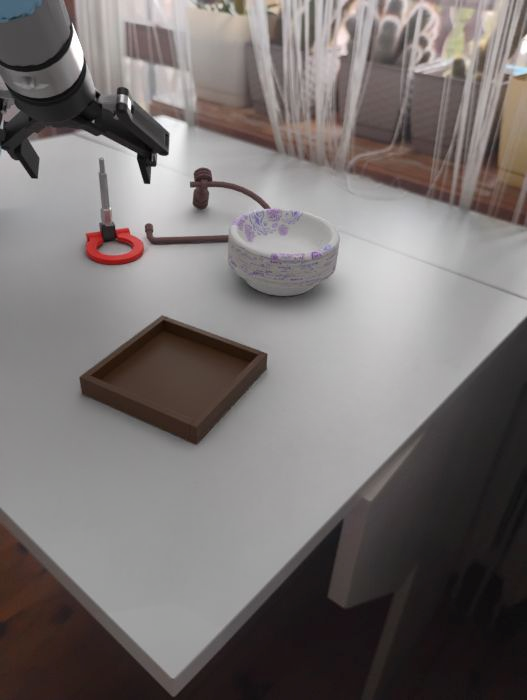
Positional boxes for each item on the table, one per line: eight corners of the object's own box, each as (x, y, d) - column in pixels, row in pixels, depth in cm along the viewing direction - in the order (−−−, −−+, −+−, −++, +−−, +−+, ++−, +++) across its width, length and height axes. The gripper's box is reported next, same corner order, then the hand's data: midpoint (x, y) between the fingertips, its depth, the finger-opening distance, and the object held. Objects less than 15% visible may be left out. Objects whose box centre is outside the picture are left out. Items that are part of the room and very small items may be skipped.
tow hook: (150, 262, 93) (133, 233, 99) (147, 178, 85) (129, 153, 91) (93, 270, 90) (79, 241, 96) (84, 185, 82) (70, 158, 88)
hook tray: (81, 393, 67) (79, 376, 65) (162, 330, 77) (162, 314, 76) (196, 444, 62) (196, 427, 60) (266, 369, 72) (267, 353, 71)
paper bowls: (285, 321, 81) (291, 266, 76) (204, 278, 89) (205, 226, 84) (354, 282, 90) (362, 232, 86) (275, 247, 98) (279, 198, 94)
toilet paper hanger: (146, 238, 95) (139, 165, 100) (146, 267, 102) (140, 197, 108) (284, 233, 99) (271, 163, 105) (275, 261, 107) (263, 195, 112)
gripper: (-107, 94, 55) (-15, 195, 76) (180, 110, 56) (192, 204, 77) (-97, 18, 56) (-9, 137, 77) (184, 35, 57) (195, 147, 78)
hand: (92, 171), depth 77 cm, fingers open, 13 cm apart
